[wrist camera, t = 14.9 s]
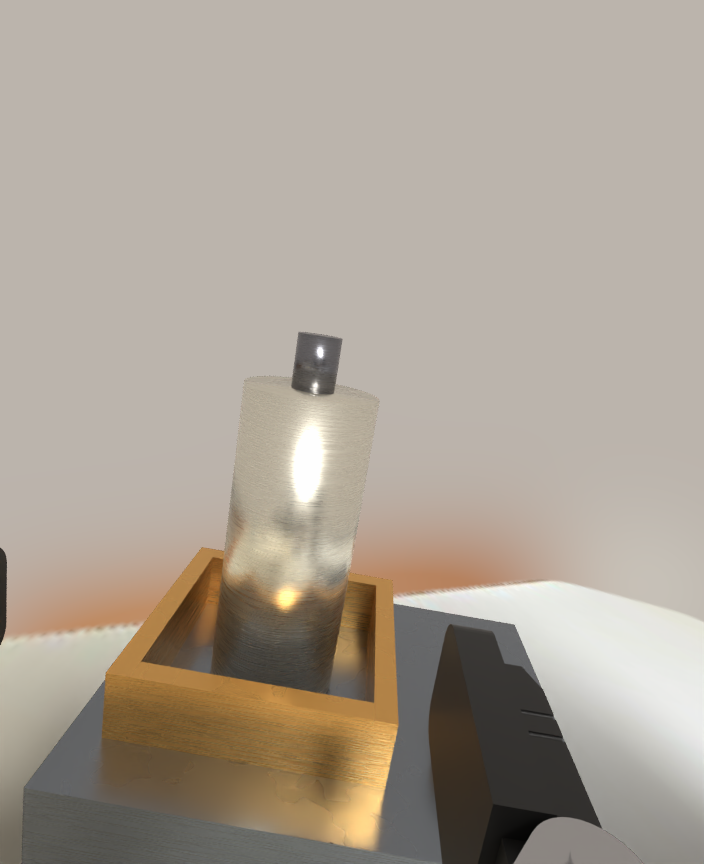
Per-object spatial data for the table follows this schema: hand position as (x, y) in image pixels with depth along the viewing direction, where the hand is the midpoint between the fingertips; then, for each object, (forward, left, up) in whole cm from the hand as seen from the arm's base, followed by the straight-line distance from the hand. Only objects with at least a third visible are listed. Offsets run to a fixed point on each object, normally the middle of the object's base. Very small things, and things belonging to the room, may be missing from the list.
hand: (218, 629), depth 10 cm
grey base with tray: (-3, -11, -14) cm, 18 cm away
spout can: (0, -11, -9) cm, 14 cm away
